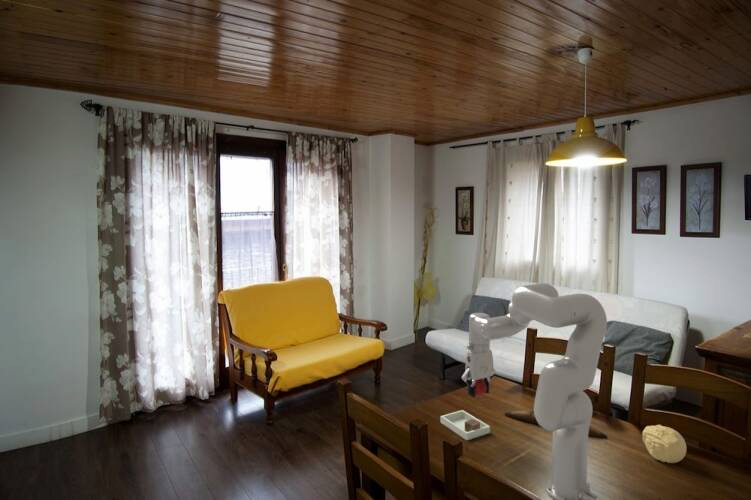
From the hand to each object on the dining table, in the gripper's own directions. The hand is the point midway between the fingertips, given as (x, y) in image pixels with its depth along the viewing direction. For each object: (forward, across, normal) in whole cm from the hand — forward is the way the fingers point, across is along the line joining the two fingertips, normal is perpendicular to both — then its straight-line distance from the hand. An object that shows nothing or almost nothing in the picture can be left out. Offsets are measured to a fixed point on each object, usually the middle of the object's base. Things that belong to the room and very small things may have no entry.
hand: (478, 393), depth 169 cm
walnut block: (+15, -2, +1) cm, 15 cm away
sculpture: (+16, +44, -43) cm, 64 cm away
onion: (+2, 0, 0) cm, 2 cm away
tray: (+16, -2, +6) cm, 17 cm away
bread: (+17, +30, -9) cm, 35 cm away
